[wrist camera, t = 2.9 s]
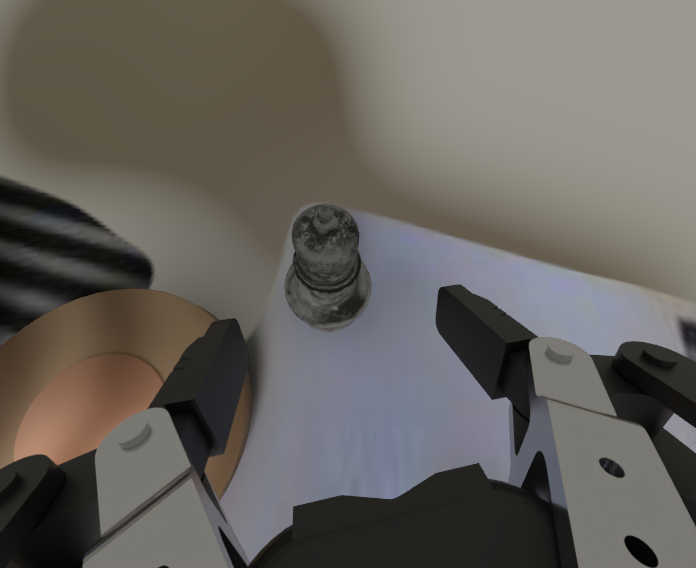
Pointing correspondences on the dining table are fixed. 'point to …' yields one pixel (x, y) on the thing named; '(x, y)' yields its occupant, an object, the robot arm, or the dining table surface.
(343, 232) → the stone chess piece
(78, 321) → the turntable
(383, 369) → the dining table surface
